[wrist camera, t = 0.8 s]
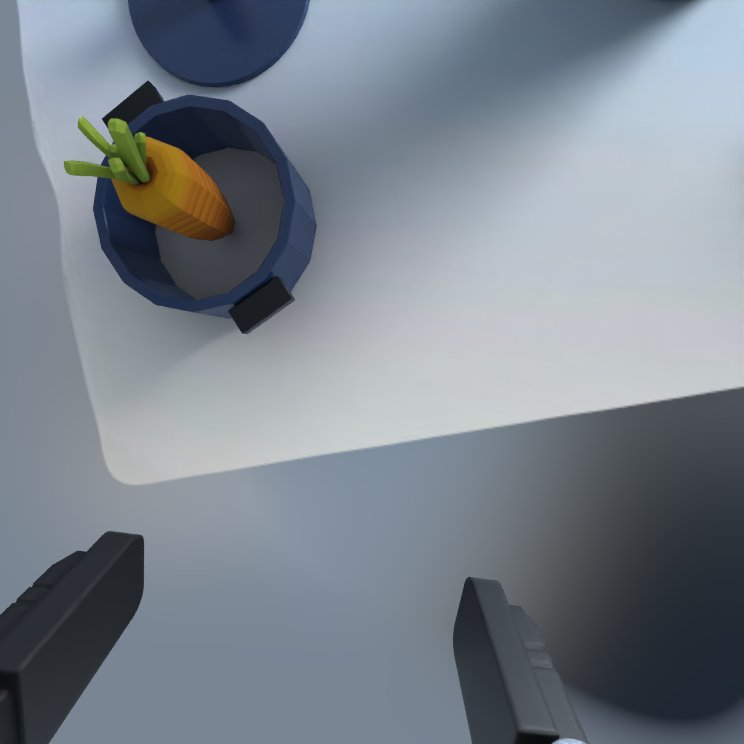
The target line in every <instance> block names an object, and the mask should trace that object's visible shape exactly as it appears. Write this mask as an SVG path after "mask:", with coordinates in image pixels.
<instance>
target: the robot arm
mask: <svg viewBox="0 0 744 744" xmlns="http://www.w3.org/2000/svg"><path fill="white" fill-rule="evenodd" d="M143 588H144V539H143V537H142V535H138V534H129V533H121V532H114V531H108V532H106V533H105V534H104V535H102V536H101V537H100V538H99V539H98V541H97V542H96V543H95V544H94V545H93V546H92V547H91V548H90V549H89V550H88V551H87V552H83V551H76V552H75V553H73V554H71V555H69V556H67V557H66V558H64V559H62V560H60V561H59V562H57V563H55V564H53V565H52V566H51V567H50V568H49V569H48V570H47V571H46V572H45V573H44V574H43V575H41V576H40V577H39V578H38V579H37V580H36V581H35V582H34V583H33V586H32V587H29V588H28V589H27V590H26V591H25V592H24V593H23V594H22V595H21V596H20V597H19V598H18V599H17V601H16V603H12V604H11V605H10V606H9V607H8V608H7V609H6V610H5V611H4V612H3V613H2V614H1V615H0V744H49V742H50V741H51V739H52V738H53V736H54V735H55V733H56V732H57V730H58V729H59V727H60V726H61V724H62V723H63V721H64V720H65V718H66V717H67V715H68V714H69V712H70V711H71V709H72V708H73V706H74V705H75V703H76V702H77V700H78V699H79V697H80V695H81V694H82V693H83V691H84V690H85V688H86V687H87V685H88V684H89V682H90V681H91V679H92V678H93V676H94V675H95V673H96V672H97V670H98V669H99V667H100V666H101V664H102V663H103V661H104V660H105V658H106V657H107V655H108V654H109V652H110V651H111V649H112V648H113V647H114V645H115V644H116V642H117V640H118V639H119V638H120V636H121V634H122V633H123V631H124V630H125V628H126V627H127V625H128V624H129V622H130V621H131V620H132V618H133V616H134V615H135V613H136V611H137V609H138V607H139V604H140V601H141V598H142V594H143ZM453 647H454V656H455V661H456V666H457V671H458V676H459V681H460V686H461V691H462V696H463V701H464V705H465V710H466V715H467V720H468V725H469V730H470V735H471V739H472V744H589V742H588V741H587V738H586V736H585V734H584V732H583V729H582V727H581V725H580V723H579V720H578V718H577V716H576V714H575V711H574V709H573V707H572V704H571V702H570V700H569V698H568V695H567V693H566V691H565V689H564V686H563V684H562V682H561V680H560V677H559V676H558V673H557V671H556V669H554V664H553V662H552V659H551V657H550V655H549V653H548V651H546V646H545V644H544V641H543V639H542V637H541V634H540V633H539V630H538V628H537V625H536V624H535V623H534V622H533V621H532V620H531V619H530V617H529V616H528V615H527V614H526V613H525V611H524V610H523V609H522V608H521V607H520V606H512V605H509V604H508V602H507V599H506V596H505V594H504V591H503V589H502V586H501V584H500V582H499V581H496V580H489V579H481V578H473V577H468V578H467V579H466V581H465V584H464V588H463V592H462V597H461V601H460V604H459V609H458V613H457V617H456V621H455V626H454V634H453Z"/></svg>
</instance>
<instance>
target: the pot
mask: <svg viewBox="0 0 744 744" xmlns="http://www.w3.org/2000/svg"><path fill="white" fill-rule="evenodd" d="M117 118H118V119H120V120H122V121H125V122H126V123H127V125H128V127H129V129H130V131H131V133H132V136H133V138H134V137H135V134H136V133H139V132H141V133H144V134H145V137H150V138H153V139H155V140H158V141H160V142H163V143H166V144H168V145H171V146H173V147H176V148H179V149H180V150H182V151H183V152H184V153H186V154H187V155H188V156H189V157H190V158H191V159H192V160H194V159H195V158H196V157H197V156H199V155H201V154H205V153H209V152H212V151H216V150H220V149H224V148H227V147H230V148H236V149H242V150H249V151H255V152H258V153H260V154H261V155H263V156H265V157H266V158H268V159H269V160H271V161H272V162H274V163H275V164H277V169H278V174H279V179H280V184H281V189H282V194H283V199H284V203H283V209H282V214H281V220H280V226H279V231H278V237H277V241H276V242H275V244H274V245H273V247H272V249H271V250H270V252H269V254H268V255H267V257H266V258H265V260H264V262H263V263H262V265H261V267H260V268H259V270H258V271H257V272H256V273H255V274H253V275H252V276H251V277H249V278H248V279H246V280H245V281H244V282H242V283H241V284H240V285H238V286H237V287H235V288H234V289H233V290H231V291H230V292H229V293H226V294H221V295H217V296H213V297H208V298H204V299H199V300H196V299H195V298H193V297H192V296H191V295H189V294H188V293H186V292H185V291H183V290H182V289H180V288H179V287H177V285H176V284H175V282H174V281H173V279H172V277H171V276H170V274H169V273H168V271H167V270H166V268H165V267H164V265H163V264H162V262H161V258H160V254H159V249H158V244H157V239H156V235H155V227H156V224H154V223H151V222H149V221H147V220H144V219H142V218H140V217H137V216H135V215H133V214H130V213H129V212H127V211H126V210H125V209H124V208H123V206H122V204H121V202H120V199H119V197H118V194H117V192H116V190H115V187H114V185H113V182H112V180H111V179H112V178H103V177H98V178H97V185H96V192H95V199H94V206H93V211H94V215H95V220H96V225H97V230H98V234H99V239H100V244H101V248H102V250H103V251H104V253H105V255H106V256H107V258H108V259H109V261H110V262H111V264H112V265H113V267H114V268H115V270H116V272H117V273H118V275H119V276H120V278H121V279H122V281H123V282H124V283H125V284H126V285H128V286H129V287H131V288H132V289H134V290H135V291H137V292H138V293H139V294H141V295H142V296H144V297H145V298H147V299H148V300H149V301H151V302H152V303H154V304H156V305H159V306H164V307H169V308H174V309H179V310H184V311H189V312H194V313H200V314H206V315H212V316H218V317H224V318H233V320H234V321H235V323H236V325H237V326H238V328H239V329H240V331H241V332H242V333H243V334H248V333H250V332H251V331H252V330H254V329H255V328H257V327H258V326H260V325H261V324H262V323H264V322H265V321H267V320H268V319H269V318H271V317H272V316H274V315H275V314H276V313H278V312H279V311H281V310H282V309H284V308H285V307H286V306H288V305H289V304H291V303H292V302H293V301H295V299H294V297H293V296H292V294H291V293H290V292H291V291H292V289H293V288H294V286H295V284H296V283H297V281H298V280H299V278H300V276H301V275H302V273H303V272H304V270H305V268H306V267H307V265H308V264H309V261H310V259H311V253H312V248H313V243H314V237H315V232H316V221H315V216H314V211H313V206H312V201H311V196H310V191H309V189H308V187H307V186H306V184H305V183H304V181H303V180H302V178H301V177H300V175H299V174H298V172H297V171H296V169H295V168H294V166H293V165H292V163H291V162H290V160H289V159H288V157H287V156H286V155H285V153H284V152H283V150H282V149H281V147H280V146H279V144H278V143H277V142H276V140H275V139H274V137H273V136H272V134H271V133H270V131H269V130H268V129H267V127H266V126H265V124H264V123H263V122H262V121H260V120H259V119H257V118H255V117H254V116H252V115H251V114H249V113H248V112H246V111H245V110H243V109H242V108H240V107H238V106H237V105H235V104H234V103H232V102H231V101H228V100H222V99H215V98H209V97H202V96H195V95H186V96H182V97H179V98H175V99H172V100H169V101H164V100H163V98H162V97H161V95H160V94H159V92H158V91H157V89H156V88H155V87H154V86H153V85H152V84H151V83H150V82H149V81H147V82H146V83H144V84H143V85H142V86H141V87H139V88H138V89H137V90H136V91H135V92H133V93H132V94H131V95H130V96H129V97H127V98H126V99H125V100H124V101H123V102H121V103H120V104H119V105H118V106H117V107H115V108H114V109H113V110H112V111H111V112H109V113H108V114H107V115H106V116H105V117H103V118H102V120H103V122H104V123H105V125H106V126H107V128H108V122H109V120H110V119H117ZM134 141H135V139H134ZM112 144H115V143H114V142H113V143H112ZM109 159H111V158H109V157H108V156H107V155H106V156H105V158H104V160H103V162H102V163H101V165H102V166H106V167H110V165H109V162H108V160H109Z"/></svg>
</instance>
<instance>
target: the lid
mask: <svg viewBox="0 0 744 744" xmlns="http://www.w3.org/2000/svg"><path fill="white" fill-rule="evenodd" d="M309 1H310V0H128V4H129V11H130V15H131V19H132V22H133V25H134V28H135V30H136V33H137V35H138V37H139V39H140V41H141V42H142V44H143V46H144V47H145V49H146V50H147V51H148V52H149V54H150V55H151V56H152V57H153V58H154V60H155V61H156V62H157V63H158V64H159V65H160V66H161V67H163V68H164V69H165V70H167V71H168V72H169V73H171V74H172V75H174V76H176V77H178V78H180V79H181V80H184V81H187V82H189V83H192V84H197V85H201V86H211V87H219V86H229V85H233V84H238V83H241V82H243V81H246V80H249V79H251V78H253V77H255V76H257V75H259V74H261V73H262V72H263V71H265V70H266V69H268V68H269V67H271V66H272V65H273V64H274V63H275V62H276V61H277V60H278V59H279V58H280V57H281V56H282V55H283V54H284V53H285V52H286V51H287V49H288V48H289V47H290V45H291V44H292V42H293V41H294V39H295V38H296V36H297V34H298V32H299V30H300V28H301V26H302V24H303V21H304V19H305V16H306V13H307V9H308V5H309Z"/></svg>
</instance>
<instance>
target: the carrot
mask: <svg viewBox="0 0 744 744" xmlns="http://www.w3.org/2000/svg"><path fill="white" fill-rule="evenodd" d="M78 128H79V129H80V130H81V132H82V133H83V134H84V135H85V136H86V137H87V138H88V139H89V140H90V141H91V142H92V143H93V144H94V145H95V146H96V147H97V148H99V149H100V150H101V151H102V152H103V153H104V154H106V155H107V156H108V157H109V158H111V159H109V160H108V162H109V165H110V167H106V166H102V165H98V164H93V163H89V162H81V161H64V167H65V170H66V172H67V173H68V174H70V175H76V176H95V177H103V178H112V179H111V180H112V182H113V185H114V187H115V190H116V192H117V194H118V197H119V199H120V202H121V204H122V206H123V208H124V209H125V210H126V211H127V212H129V213H130V214H133V215H135V216H137V217H140V218H142V219H144V220H147V221H149V222H151V223H154V224H156V225H159V226H161V227H164V228H166V229H169V230H171V231H174V232H176V233H179V234H181V235H184V236H187V237H189V238H193V239H199V240H207V241H213V240H217V239H220V238H223V237H225V236H227V235H229V234H231V233H232V231H233V228H234V223H235V221H234V218H233V215H232V212H231V210H230V208H229V205H228V203H227V200H226V199H225V197H224V195H223V194H222V192H221V191H220V189H219V188H218V186H217V185H216V183H215V182H214V181H213V179H212V178H211V177H210V176H209V175H208V174H207V173H206V172H205V171H204V170H203V169H202V168H201V167H200V166H199V165H198V164H197V163H195V162H194V161H193V160H192V159H191V158H190V157H189V156H188V155H187V154H186V153H184V152H183V151H182V150H180V149H179V148H176V147H173V146H171V145H168V144H166V143H163V142H160V141H158V140H155V139H153V138H150V137H145V134H144V133H141V132H139V133H136V134H135V137H134V138H133V136H132V133H131V131H130V129H129V127H128V125H127V123H126V122H125V121H122V120H120V119H118V118H117V119H110V120H109V122H108V129H109V132H110V134H111V137H112V139H113V141H114V143H115V144H112V145H110V144H109V143H108V142H107V141H106V140H105V139H104V138H103V137H102V136H101V135H100V134H99V133H98V132H97V131H96V129H95V128H94V127H93V126H92V125H91V124H90V123H89V122H88V121H87V120H86V119H85V118H84V117H83V116H82V117H81V118H80V119H79V121H78ZM134 139H135V141H134Z"/></svg>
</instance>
